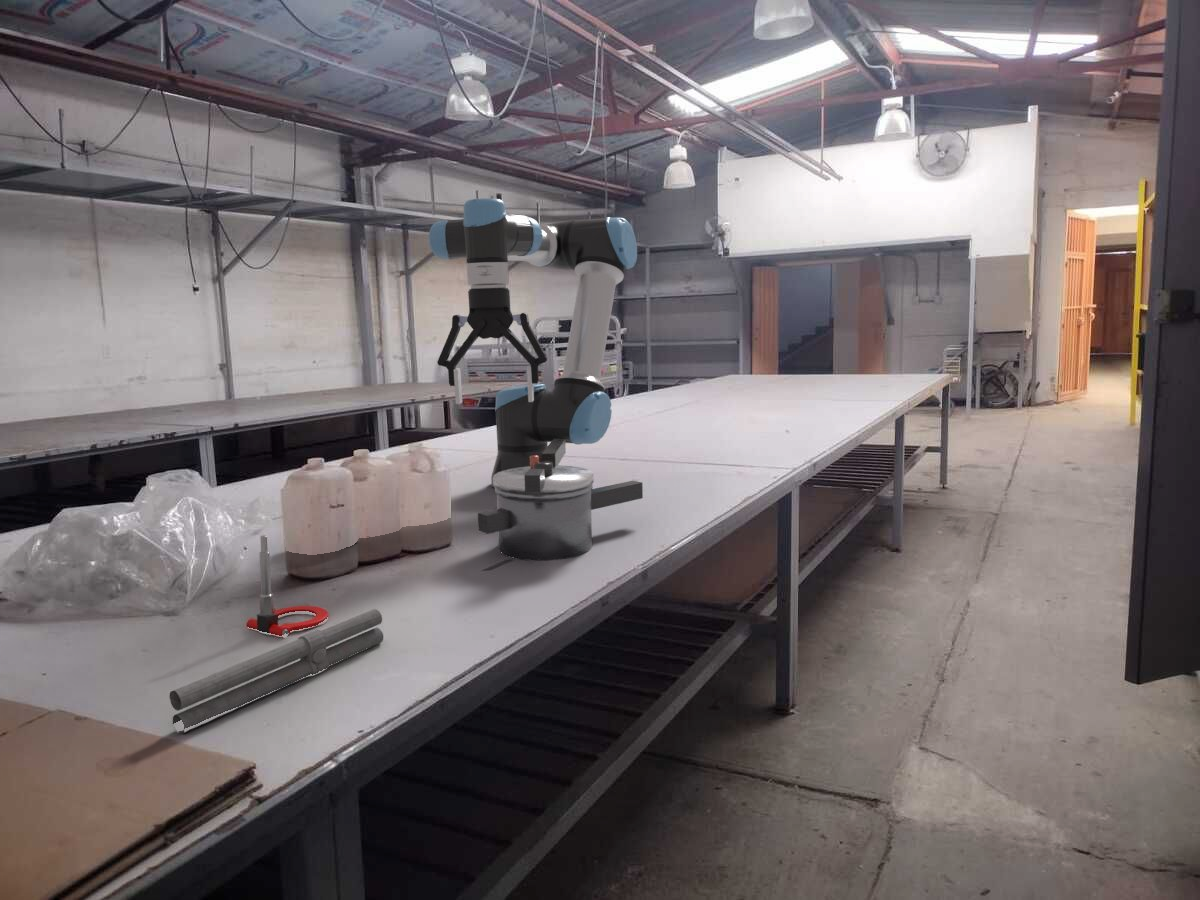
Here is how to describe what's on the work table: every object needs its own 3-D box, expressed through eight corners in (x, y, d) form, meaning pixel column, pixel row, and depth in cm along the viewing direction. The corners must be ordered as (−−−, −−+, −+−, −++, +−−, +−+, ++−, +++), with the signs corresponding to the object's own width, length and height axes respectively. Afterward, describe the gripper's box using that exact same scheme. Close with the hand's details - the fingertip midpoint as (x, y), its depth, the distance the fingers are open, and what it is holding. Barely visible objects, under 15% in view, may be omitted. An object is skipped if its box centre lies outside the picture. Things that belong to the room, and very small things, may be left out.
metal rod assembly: (187, 740, 78) (181, 692, 77) (171, 732, 80) (165, 685, 79) (389, 646, 99) (386, 607, 98) (374, 641, 101) (371, 603, 100)
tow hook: (298, 610, 113) (241, 630, 105) (295, 519, 111) (236, 533, 103) (342, 620, 109) (285, 642, 101) (338, 526, 107) (281, 541, 99)
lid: (587, 498, 125) (586, 473, 124) (478, 498, 126) (477, 474, 125) (602, 457, 159) (602, 437, 158) (517, 458, 160) (516, 438, 160)
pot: (507, 521, 156) (505, 465, 154) (643, 521, 154) (642, 464, 152) (477, 563, 130) (474, 497, 128) (640, 564, 128) (639, 496, 126)
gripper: (416, 289, 144) (424, 406, 148) (555, 284, 144) (559, 403, 148) (425, 289, 152) (433, 401, 156) (558, 285, 151) (562, 397, 155)
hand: (495, 402), depth 152 cm, fingers open, 13 cm apart
